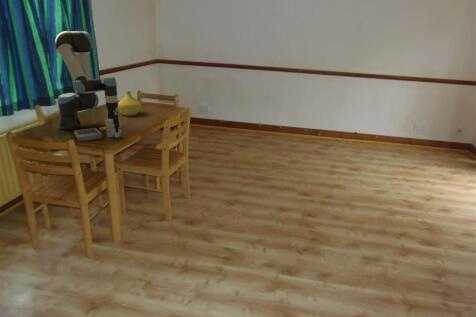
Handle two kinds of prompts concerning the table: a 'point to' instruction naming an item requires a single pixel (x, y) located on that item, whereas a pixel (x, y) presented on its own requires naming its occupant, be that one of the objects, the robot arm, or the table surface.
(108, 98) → the robot arm
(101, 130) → the puller tool
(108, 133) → the ink box
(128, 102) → the yellow rounded bulb
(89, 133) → the tray
